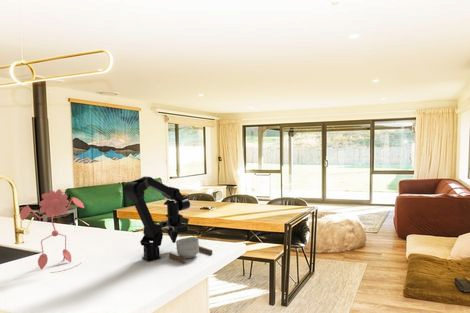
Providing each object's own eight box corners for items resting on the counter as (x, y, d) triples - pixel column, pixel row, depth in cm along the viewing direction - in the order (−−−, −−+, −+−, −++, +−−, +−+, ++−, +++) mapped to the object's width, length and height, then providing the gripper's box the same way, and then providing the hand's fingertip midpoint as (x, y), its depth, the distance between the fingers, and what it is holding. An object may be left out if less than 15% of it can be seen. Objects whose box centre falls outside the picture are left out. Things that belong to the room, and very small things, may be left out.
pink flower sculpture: (20, 269, 152) (17, 191, 150) (81, 256, 170) (78, 185, 168) (28, 280, 141) (24, 195, 139) (92, 264, 158) (90, 188, 156)
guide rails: (183, 263, 155) (183, 259, 155) (168, 257, 164) (168, 253, 164) (212, 254, 167) (212, 250, 167) (197, 249, 176) (197, 245, 176)
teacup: (187, 261, 157) (187, 244, 157) (171, 257, 164) (171, 241, 164) (208, 253, 168) (207, 237, 168) (192, 249, 175) (191, 234, 175)
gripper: (196, 212, 174) (197, 243, 175) (176, 207, 188) (177, 236, 188) (177, 216, 166) (179, 247, 167) (158, 211, 180) (159, 240, 181)
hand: (174, 242), depth 176 cm, fingers closed
